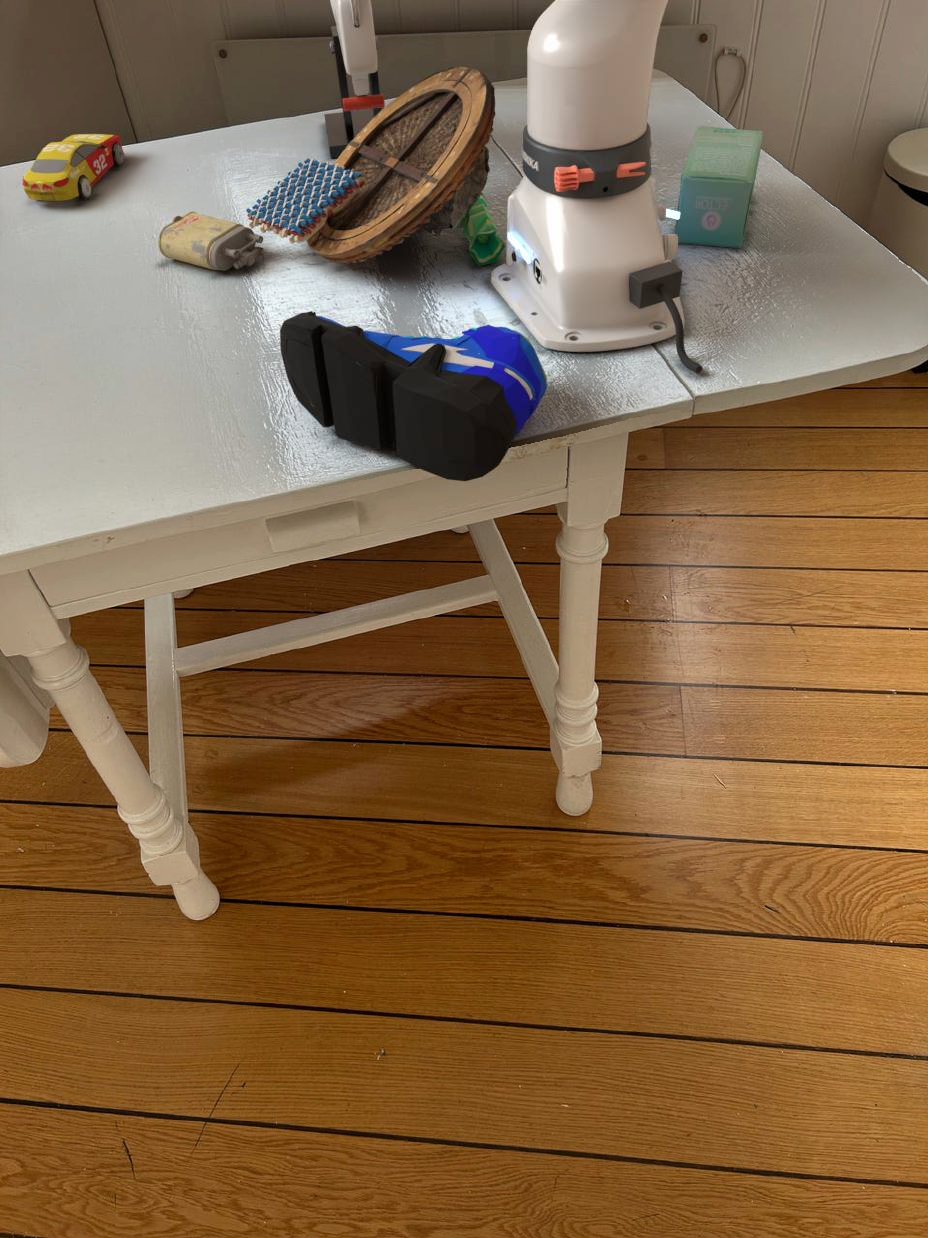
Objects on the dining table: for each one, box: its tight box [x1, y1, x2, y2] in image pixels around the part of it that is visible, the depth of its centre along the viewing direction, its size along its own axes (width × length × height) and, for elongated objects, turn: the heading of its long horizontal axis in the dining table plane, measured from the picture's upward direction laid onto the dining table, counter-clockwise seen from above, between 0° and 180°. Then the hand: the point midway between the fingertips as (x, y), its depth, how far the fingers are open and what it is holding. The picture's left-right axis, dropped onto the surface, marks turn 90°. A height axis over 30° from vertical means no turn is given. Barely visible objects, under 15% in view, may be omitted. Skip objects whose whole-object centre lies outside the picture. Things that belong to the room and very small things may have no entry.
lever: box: [342, 93, 386, 112], centre depth 116 cm, size 12×5×2 cm, turn 9°
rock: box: [419, 145, 491, 239], centre depth 101 cm, size 17×10×10 cm
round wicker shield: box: [306, 66, 496, 264], centre depth 99 cm, size 25×3×25 cm
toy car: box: [22, 133, 125, 202], centre depth 119 cm, size 8×17×5 cm, turn 171°
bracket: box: [324, 25, 385, 160], centre depth 121 cm, size 12×10×13 cm
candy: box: [459, 191, 506, 267], centre depth 102 cm, size 12×3×4 cm
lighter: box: [157, 211, 265, 272], centre depth 102 cm, size 7×4×10 cm
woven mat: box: [245, 157, 366, 244], centre depth 99 cm, size 10×11×2 cm
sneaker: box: [279, 310, 548, 482], centre depth 79 cm, size 9×24×15 cm
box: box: [674, 126, 764, 249], centre depth 101 cm, size 7×14×8 cm, turn 164°
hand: (361, 91), depth 113 cm, fingers closed
